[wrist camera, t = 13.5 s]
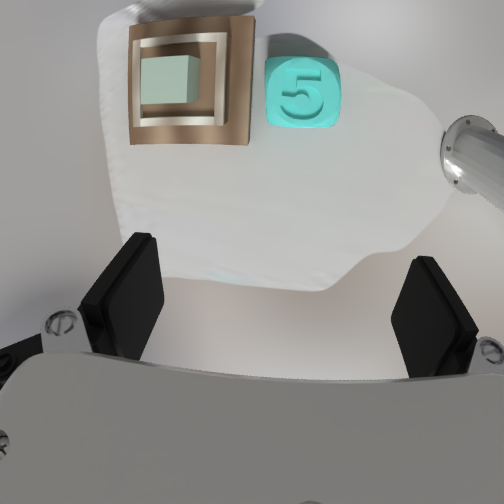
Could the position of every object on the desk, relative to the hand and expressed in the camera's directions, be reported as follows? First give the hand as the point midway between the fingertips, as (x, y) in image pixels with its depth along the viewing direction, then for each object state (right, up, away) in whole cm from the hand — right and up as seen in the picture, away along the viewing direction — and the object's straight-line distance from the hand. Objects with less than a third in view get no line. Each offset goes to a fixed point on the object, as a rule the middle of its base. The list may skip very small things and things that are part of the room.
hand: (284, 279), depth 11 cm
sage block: (-9, +21, +19) cm, 30 cm away
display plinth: (-9, +24, +24) cm, 35 cm away
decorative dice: (+5, +22, +25) cm, 33 cm away
